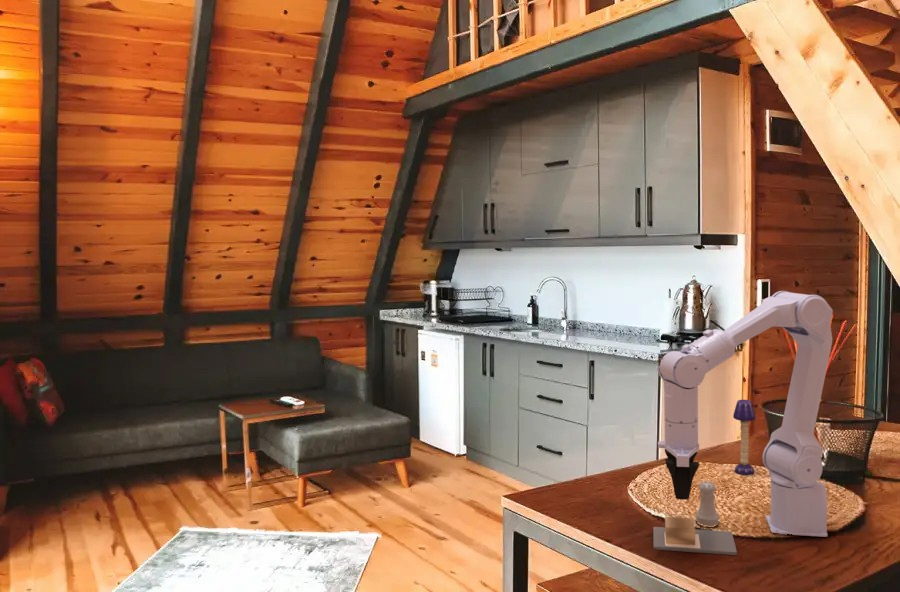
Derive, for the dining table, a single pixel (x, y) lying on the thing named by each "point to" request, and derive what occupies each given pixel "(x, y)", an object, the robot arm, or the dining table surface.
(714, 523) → the rook chess piece
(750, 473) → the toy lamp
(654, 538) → the slate board
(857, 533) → the dining table surface
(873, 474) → the dining table surface
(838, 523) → the dining table surface
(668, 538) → the oak block
